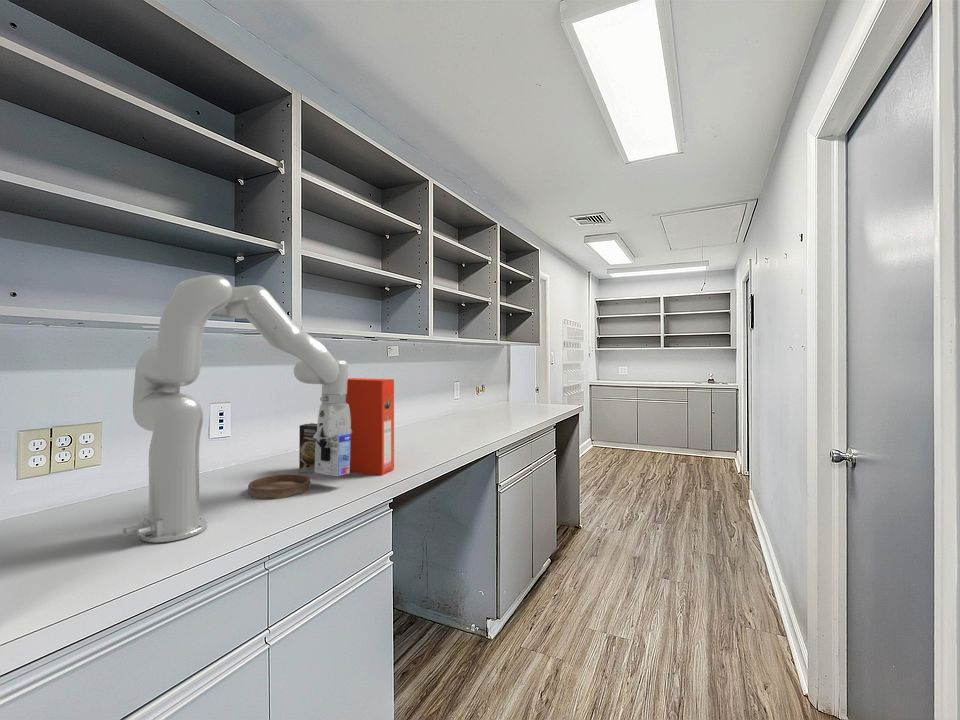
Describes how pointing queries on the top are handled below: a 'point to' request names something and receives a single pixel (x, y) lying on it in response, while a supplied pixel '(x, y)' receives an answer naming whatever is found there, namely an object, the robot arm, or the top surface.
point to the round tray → (279, 486)
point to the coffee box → (307, 448)
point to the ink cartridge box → (335, 456)
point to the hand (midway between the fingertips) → (332, 458)
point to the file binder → (371, 425)
